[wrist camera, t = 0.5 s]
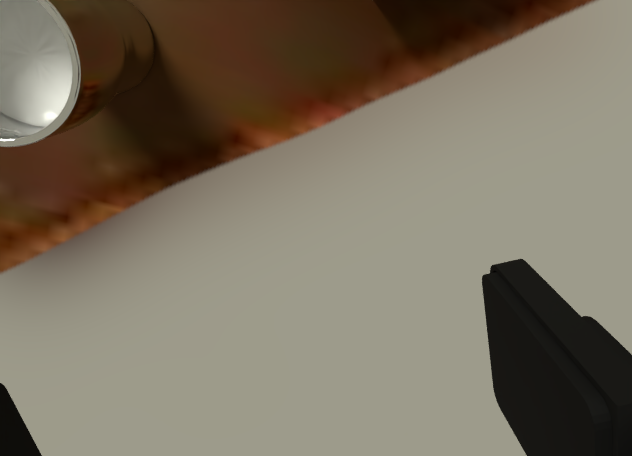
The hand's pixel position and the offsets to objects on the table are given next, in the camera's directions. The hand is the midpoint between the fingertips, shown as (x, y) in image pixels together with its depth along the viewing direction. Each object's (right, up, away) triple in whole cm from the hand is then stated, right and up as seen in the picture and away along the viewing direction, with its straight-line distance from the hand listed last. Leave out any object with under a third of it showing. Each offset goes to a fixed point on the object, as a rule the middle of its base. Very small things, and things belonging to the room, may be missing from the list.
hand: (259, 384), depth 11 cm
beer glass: (-12, +15, +24) cm, 31 cm away
